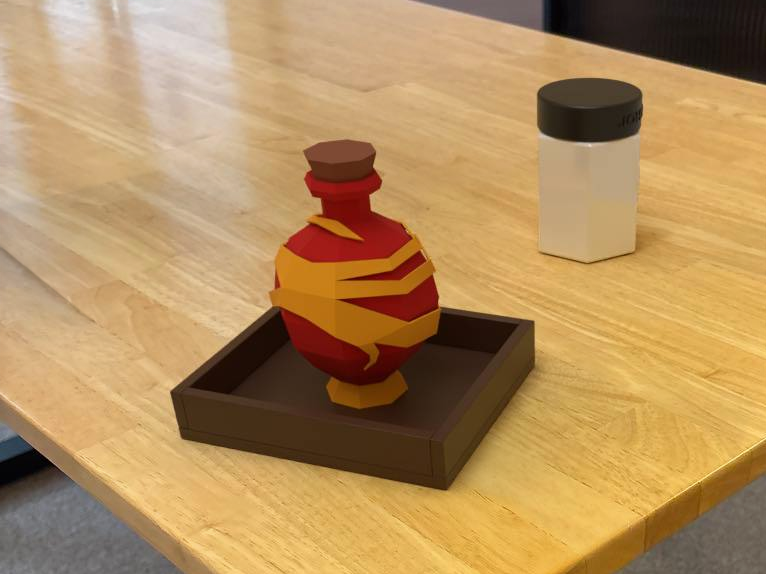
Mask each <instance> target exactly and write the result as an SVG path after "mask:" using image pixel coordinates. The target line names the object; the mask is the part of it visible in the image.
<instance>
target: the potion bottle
mask: <svg viewBox="0 0 766 574" xmlns="http://www.w3.org/2000/svg"><path fill="white" fill-rule="evenodd" d="M302 152H303V155H304V156H305V158H306V162H307V163H308V165H309V167H310V170H309V171H307V172H306V173H305V176H304V178H303V181H304V184H305V185H306V187H307V189H308V191H309V193H310V195H311V197H312V198H314V199H315V198H316V199H320V204H321V212H317V213H315V214H313V215H311V216H309V217H308V218H306V219H305V222H307V223H308V224H307V225H305V226H304V227H302V228H300V229H299V230H298V231H297V232H295V233H294V234H292V235H291V236H290V237H288V240H287V241H285V242H283V243H281V244H280V245H279V247H278V250H277V253H276V254H275V255H276V256H275V258H274V261H273V264H274V267H275V269H274V289H272V290H269V291H268V295H269V297H270V302H271V305H272V306H271V307H273V306H279V308H280V311H281V313H282V316H283V319H284V322H285V324H286V327H287V330H288V332H289V335H290V338H291V340H292V343H293V346H294V348H295V349H296V350H297V351H298V352H299V353H300V354H301V355H302V356H303V357H304V358H305V359H306V360H307V361H308V362H309V363H311V364H312V365H313V366H314V367H315V368H317V369H319V370H321V371H322V372H324V373H326V374H328V375H330V376H331V377H332V378H331V379H330V381H329V382H328V384H327V386H326V388H327V390H328V393H329V395H330V398H331V401H332V402H335V403H339V404H343V405H346V406H350V407H354V408H358V409H362V408H367V407H373V406H379V405H384V404H390V403H392V402H394V401H395V400H396V399H397V398H398V397H399V396H400V395H402V394H403V393H404V392H405V391H406V390H407V389H409V388H408V386H407V384H406V382H405V380H404V378H403V376H402V374H401V373H400V372H399V371H398V369H399V368H400V367H401V366H402V365H403V364H404V363H405V362H406V361H407V360H408V359H410V358H411V357H412V356H413V355H414V354H415V353H416V352H417V351H418V350H419V349H420V347H421V346H422V344H423V343H424V341H425V340H426V339H427V338H429V337H431V336H432V335H434V334H436V333H437V329H438V323H439V318H440V312H441V308H440V307H441V305H440V304H439V301H440V295H439V291H438V287H437V283H436V281H435V277H434V274H435V273H436V272H437V269H436V267H435V265H434V263H433V261H432V259H431V257H430V255H429V254H428V252H427V251H426V249H425V247H424V245H423V243H422V242H421V240H420V238H419V237H418V235H417V233H413V232H412V231H411V230H410V229H409V227H408V226H407V225H406V223H404V221H401V220H397V219H393V218H389V217H387V216H385V215H383V214H380V213H379V212H376V211H374V210H372V207H371V198H370V195H372V194H374V193H376V192H378V191H379V190H381V187H382V184H383V179H382V177H381V176H380V175H379V173H378V171H377V170H376V169H375V167H374V165H375V161H376V156H377V150H376V148H375V147H374V145H373V144H372V143H371V142H367V141H361V140H355V139H349V138H348V139H347V138H345V139H337V140H328V141H327V140H326V141H319V142H316V143H315V144H312V145H311V146H309V147H307V148H305V149H303V150H302ZM421 250H422V251H421ZM422 252H423V253H422Z"/></svg>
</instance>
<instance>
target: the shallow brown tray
mask: <svg viewBox="0 0 766 574" xmlns="http://www.w3.org/2000/svg"><path fill="white" fill-rule="evenodd" d="M440 308H441V312H440V318H439V323H438V329H437V333H436V334H434V335H432V336H431V337H429V338H427V339H426V340H425V341H424V343H423V344H422V346H421V347H420V349H419V350H418V351H417V352H416V353H415V354H414V355H413V356H412V357H411V358H410V359H408V360H407V361H406V362H405V363H404V364H403V365H402V366H401V367H400V368H399V369H398V371H399V372H400V373H401V374H402V376H403V378H404V380H405V382H406V384H407V386H408V388H409V389H407V390H406V391H405V392H404V393H403V394H402V395H400V396H399V397H398V398H397V399H396V400H395V401H394V402H392V403H390V404H384V405H379V406H373V407H367V408H362V409H358V408H354V407H350V406H346V405H343V404H339V403H335V402H332V401H331V398H330V395H329V393H328V390H327V388H326V386H327V384H328V382H329V381H330V379H331V378H332V377H331V376H330V375H328V374H326V373H324V372H322V371H321V370H319V369H317V368H315V367H314V366H313V365H312V364H311V363H309V362H308V361H307V360H306V359H305V358H304V357H303V356H302V355H301V354H300V353H299V352H298V351H297V350H296V349H295V348H294V346H293V343H292V340H291V338H290V335H289V332H288V330H287V327H286V324H285V322H284V319H283V316H282V313H281V311H280V308H279V306H271V307H270V308H269V309H268V310H266V311H265V312H264V313H263V314H262V315H260V316H259V317H257V319H255V320H254V321H253V322H252V323H250V324H249V325H248V326H247V327H245V328H244V329H243V330H242V331H241V332H240V333H239V334H237V336H235V337H234V338H233V339H231V340H230V341H229V342H227V344H225V345H224V346H223V347H221V348H220V349H219V350H218V351H217V352H216V353H214V354H213V355H212V356H211V357H210V358H208V360H206V361H205V362H203V363H202V364H201V365H200V366H199V367H197V368H196V369H195V370H194V371H193V372H192V373H190V374H189V375H188V376H186V377H185V379H183V380H182V381H181V382H179V383H178V384H177V385H176V386H174V387H173V388H172V389H171V390H170V391H169V395H170V398H171V403H172V406H173V410H174V415H175V419H176V422H177V427H178V431H179V435H180V438H181V439H184V440H190V441H194V442H199V443H203V444H210V445H213V446H218V447H219V446H220V447H224V448H229V449H235V450H239V451H245V452H250V453H255V454H261V455H265V456H270V457H276V458H280V459H286V460H291V461H295V462H296V461H297V462H300V463H305V464H311V465H316V466H321V467H327V468H332V469H336V470H341V471H346V472H352V473H356V474H362V475H367V476H372V477H377V478H382V479H387V480H393V481H397V482H402V483H408V484H413V485H418V486H422V487H423V486H424V487H428V488H434V489H439V490H442V491H443V490H445V491H447V490H448V488H449V487H450V486H451V484H452V483H453V481H454V480H455V479H456V477H457V475H458V474H459V473H460V472H461V470H462V468H463V467H464V466H465V464H466V463H467V461H469V459H470V457H471V456H472V454H473V453H474V451H475V450H476V449H477V447H478V446H479V444H481V442H482V440H483V439H484V437H485V436H486V435H487V433H488V432H489V431H490V429H491V428H492V426H493V425H494V423H495V422H496V421H497V419H498V418H499V416H500V415H501V414H502V412H503V411H504V409H505V408H506V407H507V406H508V404H509V402H510V401H511V399H512V398H513V397H514V395H515V394H516V392H517V391H518V389H519V388H520V387H521V385H522V384H523V383H524V381H525V380H526V378H527V377H528V375H529V374H530V372H531V371H532V369H534V367H535V365H536V340H535V339H536V329H535V328H536V325H535V323H536V322H535V320H533V319H527V318H521V317H520V318H519V317H512V316H507V315H499V314H494V313H486V312H479V311H474V310H473V311H472V310H466V309H460V308H453V307H446V306H440Z"/></svg>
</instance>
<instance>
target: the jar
mask: <svg viewBox="0 0 766 574" xmlns="http://www.w3.org/2000/svg"><path fill="white" fill-rule="evenodd" d="M643 96H644V95H643V91H642V89H640V87H638V86H637V85H634V84H633V83H630V82H626V81H624V80H620V79H619V80H618V79H614V78H613V79H612V78H603V77H575V78H564V79H560V80H555V81H552V82H549V83H546V84H544V85H543V86H541V87H540V88H538V90H537V92H536V126H537V129H538V133H537V149H538V150H537V156H538V157H537V160H538V164H537V165H538V166H537V169H538V171H537V173H538V174H537V175H538V177H537V178H538V179H537V180H538V251H539V252H540V253H542V254H546V255H551V256H555V257H560V258H564V259H567V260H572V261H576V262H581V263H584V264H585V263H586V264H589V263H590V264H591V263H595V262H598V261H603V260H607V259H610V258H615V257H619V256H623V255H627V254H633V253H634V252H635V251H636V240H637V222H638V203H639V196H640V192H639V191H640V184H641V183H640V181H641V180H640V179H641V166H640V162H641V161H640V160H641V143H642V136H641V131H640V129H641V128H642V118H643V116H644V115H643V114H644V113H643V112H644V103H643Z"/></svg>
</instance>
